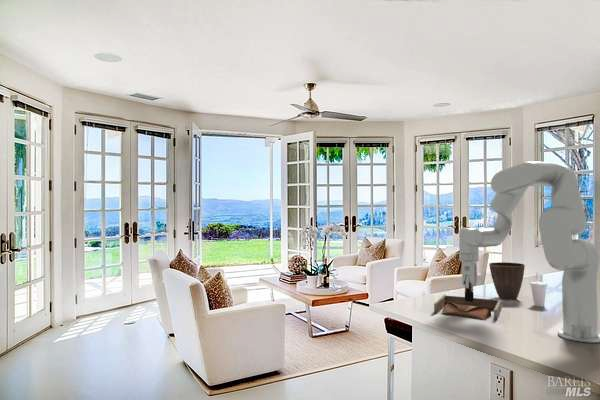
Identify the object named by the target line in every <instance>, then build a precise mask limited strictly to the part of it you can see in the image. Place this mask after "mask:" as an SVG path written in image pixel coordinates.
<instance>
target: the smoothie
mask: <svg viewBox="0 0 600 400" xmlns="http://www.w3.org/2000/svg"><path fill="white" fill-rule="evenodd" d="M535 278H536V281H531V282H530V286H531V292H532V299H533V306H534V307H545V303H546V302H545V301H546V295H547V294H546V293H547V287H548V283H547V282H543V281H542V282H540V281H539V273H538V272H536V276H535Z"/></svg>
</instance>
